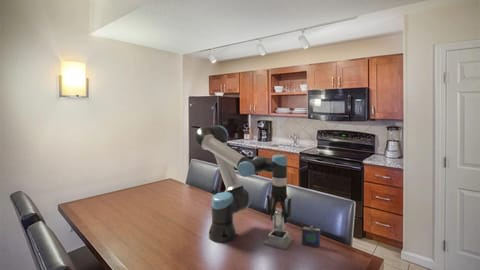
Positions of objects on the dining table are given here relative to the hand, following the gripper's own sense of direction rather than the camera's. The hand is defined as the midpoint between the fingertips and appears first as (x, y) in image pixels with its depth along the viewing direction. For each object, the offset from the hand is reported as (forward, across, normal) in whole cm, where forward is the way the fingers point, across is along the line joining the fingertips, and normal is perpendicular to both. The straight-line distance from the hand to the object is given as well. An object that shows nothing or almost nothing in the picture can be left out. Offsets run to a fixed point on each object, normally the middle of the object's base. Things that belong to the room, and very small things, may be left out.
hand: (278, 227), depth 139 cm
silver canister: (+5, 0, 0) cm, 5 cm away
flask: (+8, +16, +5) cm, 19 cm away
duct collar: (+8, 0, 0) cm, 8 cm away
